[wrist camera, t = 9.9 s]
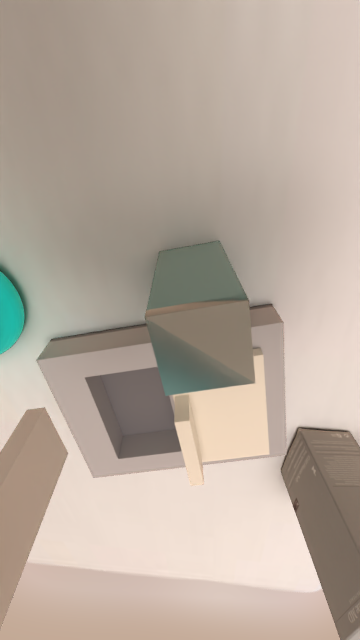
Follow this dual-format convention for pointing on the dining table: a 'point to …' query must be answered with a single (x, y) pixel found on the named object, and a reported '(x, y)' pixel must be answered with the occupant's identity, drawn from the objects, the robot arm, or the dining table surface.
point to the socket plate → (143, 396)
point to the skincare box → (330, 516)
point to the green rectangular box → (199, 321)
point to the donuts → (9, 314)
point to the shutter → (223, 423)
